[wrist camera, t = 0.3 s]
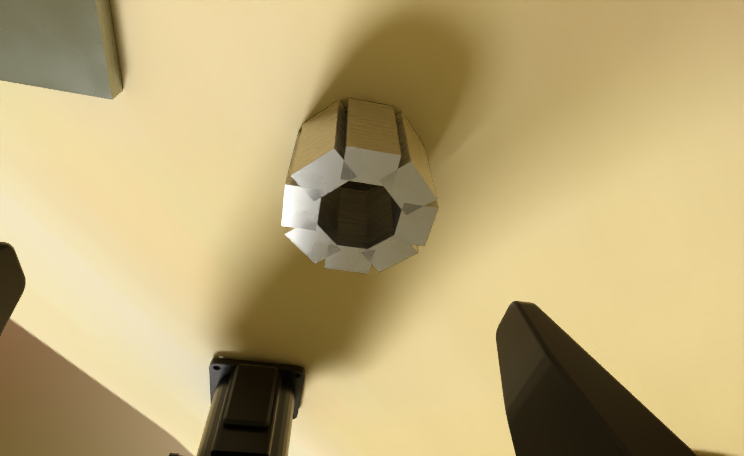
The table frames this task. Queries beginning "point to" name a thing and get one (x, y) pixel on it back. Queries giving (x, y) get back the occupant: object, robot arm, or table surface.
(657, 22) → the table surface
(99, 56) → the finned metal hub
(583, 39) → the table surface
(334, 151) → the hub ring
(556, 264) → the table surface
